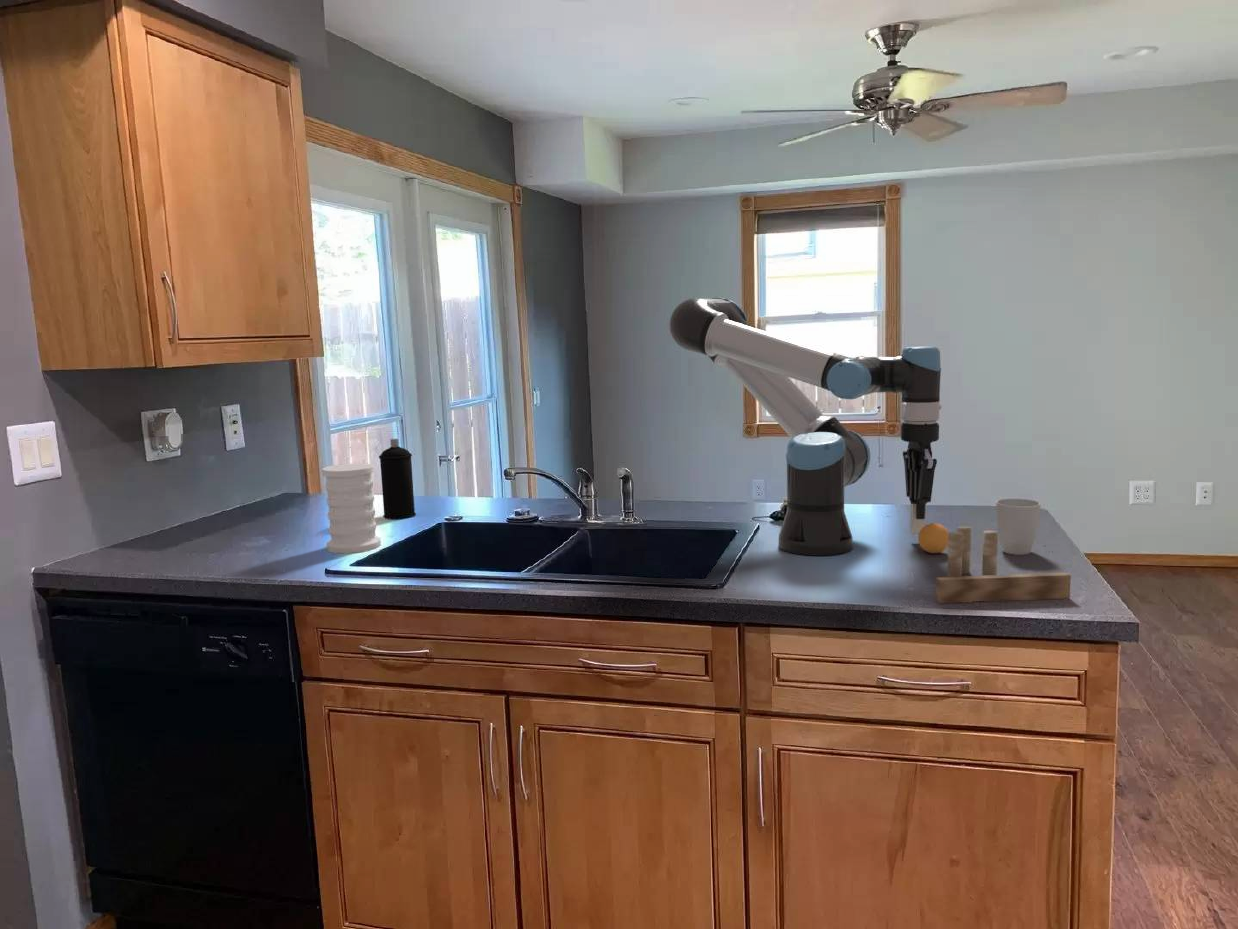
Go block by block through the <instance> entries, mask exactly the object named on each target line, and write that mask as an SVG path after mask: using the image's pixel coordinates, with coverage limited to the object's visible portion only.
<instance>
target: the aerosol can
mask: <svg viewBox="0 0 1238 929" xmlns="http://www.w3.org/2000/svg"><path fill="white" fill-rule="evenodd" d="M389 440H390V447H389V448H386V449H385V450H383V451H382V452H381V454H380V455H379V456H378V458H379V462H380V464H379V465H380V473H381V474H380V477H381V488H382V489H381V491H382V505H383V516H382V517H383V518H384V519H387V520H403V519H405V520H406V519H410V518H413V517H415V516H416V514H417V513H416V512H415V510H416V508H415V496H414V495H415V494H414V481H413V465H412V456H413V454H412V453H410V451H409V450H408V449H406V448H404V447H400V444H399V443H400V442H399V438H390V439H389Z"/></svg>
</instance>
